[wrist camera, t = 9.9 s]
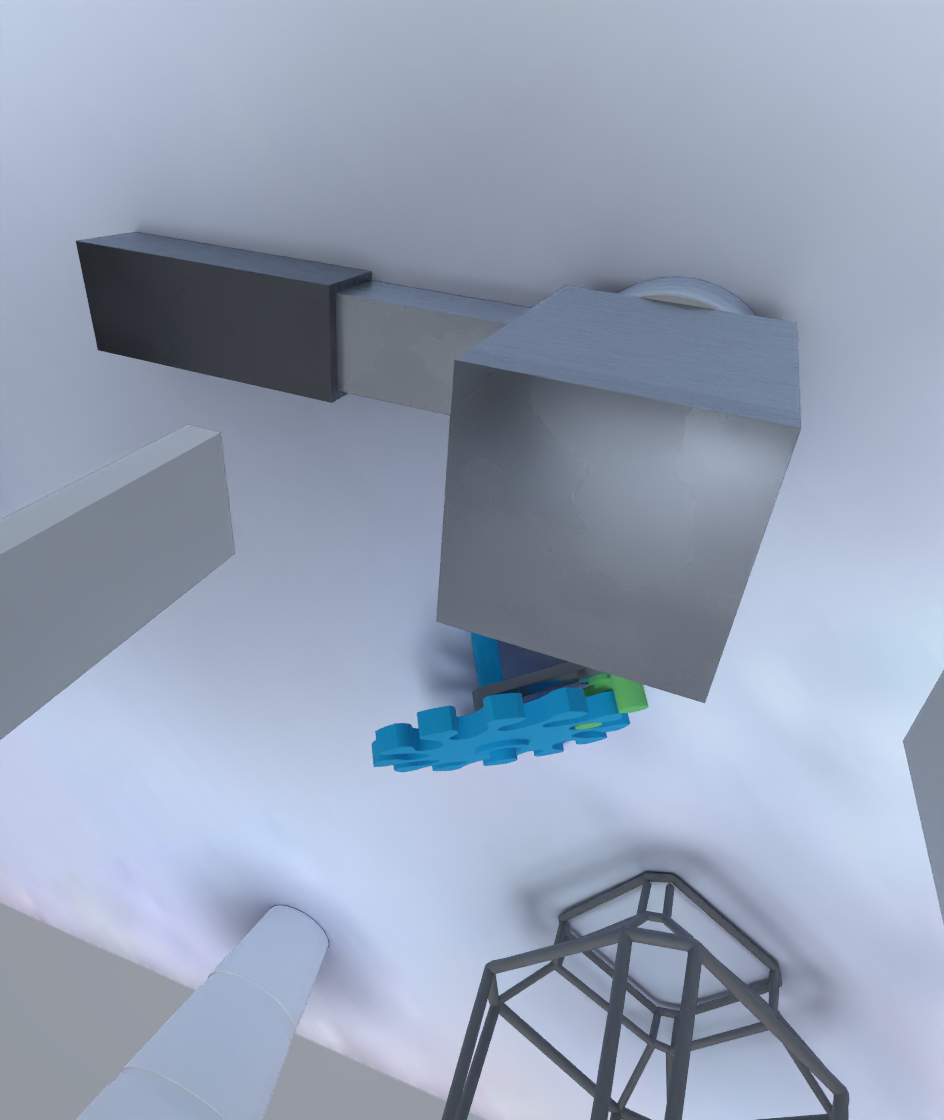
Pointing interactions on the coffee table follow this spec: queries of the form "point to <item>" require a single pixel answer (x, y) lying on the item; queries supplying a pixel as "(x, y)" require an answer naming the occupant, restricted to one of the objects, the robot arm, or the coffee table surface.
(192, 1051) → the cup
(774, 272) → the coffee table surface
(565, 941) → the geometric lantern
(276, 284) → the ratchet
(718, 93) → the coffee table surface
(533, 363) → the grey rectangular block
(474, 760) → the gear
